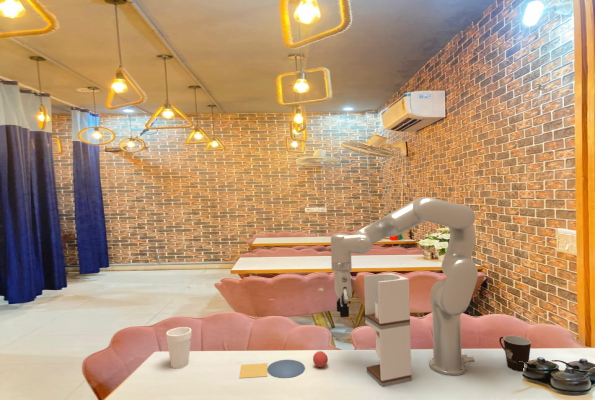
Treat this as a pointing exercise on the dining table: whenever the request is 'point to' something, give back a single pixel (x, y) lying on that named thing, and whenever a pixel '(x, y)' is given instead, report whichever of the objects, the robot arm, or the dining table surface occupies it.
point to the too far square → (253, 370)
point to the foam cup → (179, 346)
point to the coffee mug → (516, 351)
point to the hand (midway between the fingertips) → (342, 313)
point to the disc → (286, 368)
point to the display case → (389, 326)
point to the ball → (320, 359)
